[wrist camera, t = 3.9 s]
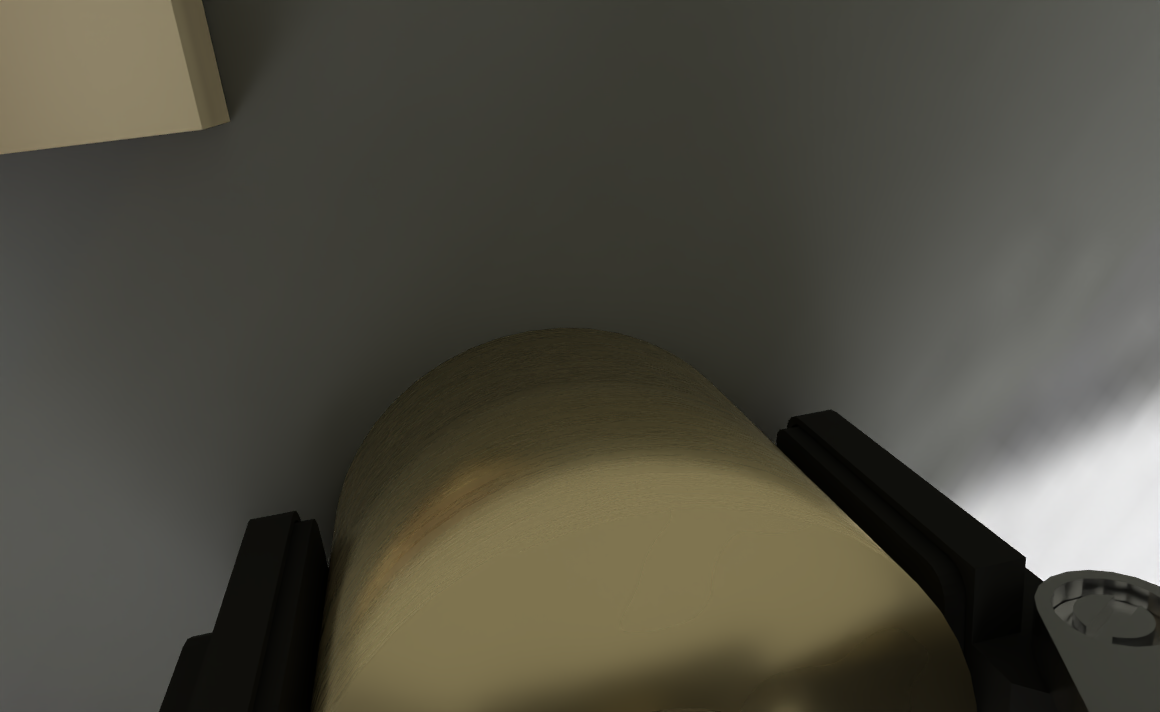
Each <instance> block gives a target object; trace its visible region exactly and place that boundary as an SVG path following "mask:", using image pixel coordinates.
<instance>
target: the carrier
mask: <svg viewBox="0 0 1160 712" xmlns="http://www.w3.org/2000/svg"><path fill="white" fill-rule="evenodd" d="M227 122H230V118H229V114H228V110H227V106H226V101H225V97H224V93H223V89H222V84H221V80H220V76H219V71H218V67H217V63H216V59H215V54H214V50H213V46H212V42H211V37H210V33H209V29H208V25H207V20H206V16H205V12H204V7H203V3H202V0H0V154H7V153H15V152H24V151H32V150H40V149H48V148H56V147H65V146H73V145H81V144H89V143H97V142H106V141H114V140H122V139H130V138H138V137H147V136H155V135H163V134H171V133H179V132H188V131H196V130H203V129H207V128H210V127H213V126H217V125H220V124H224V123H227Z"/></svg>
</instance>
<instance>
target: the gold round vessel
mask: <svg viewBox="0 0 1160 712" xmlns="http://www.w3.org/2000/svg"><path fill="white" fill-rule="evenodd" d="M310 712H977V705H976V700H975V695H974V690H973V685H972V680H971V674H970V671H969V669H968V666H967V663H966V661H965V658H964V655H963V652H962V650H961V647H960V644H959V642H958V640H957V638H956V637H955V635H954V633H953V631H952V630H951V628H950V626H949V625H948V623H947V621H946V619H945V618H944V616H943V614H942V613H941V611H940V610H939V609H938V607H937V606H936V605H935V604H934V603H933V602H932V600H931V599H930V598H929V597H928V596H927V594H926V593H925V592H924V591H923V590H922V589H921V587H920V586H919V585H918V584H917V583H916V582H915V581H914V580H913V579H912V578H911V577H910V576H909V575H908V574H907V573H906V572H905V571H904V570H903V569H902V568H901V567H900V566H899V565H898V564H897V563H896V562H895V561H894V560H893V559H891V558H890V557H889V556H888V555H887V554H886V553H885V552H884V551H883V550H882V549H881V548H880V547H879V546H878V545H877V544H876V543H875V542H874V541H873V540H872V539H871V538H870V537H869V536H868V535H867V534H866V533H865V532H864V531H863V530H862V529H861V528H860V527H859V526H858V525H857V524H856V523H855V522H854V521H852V520H851V519H850V518H849V517H848V516H847V515H846V514H845V513H844V512H843V511H842V510H841V509H840V508H839V507H838V506H837V505H836V504H835V503H834V502H833V501H832V500H831V499H830V498H829V497H828V496H827V495H826V494H825V493H824V492H823V491H822V490H821V489H820V488H819V487H818V486H817V485H816V484H815V483H814V482H812V481H811V480H810V479H809V478H808V477H807V476H806V475H805V474H804V473H803V472H802V471H801V470H800V469H799V468H798V467H797V466H796V465H795V464H794V463H793V462H792V461H791V460H790V459H789V458H788V457H787V456H786V455H785V454H784V453H783V452H782V451H781V450H780V449H779V448H778V447H777V446H776V445H775V444H773V443H772V442H771V441H770V440H769V439H768V438H767V437H766V436H765V435H764V434H763V433H762V432H761V431H760V430H759V429H758V428H757V427H756V426H755V425H754V424H753V423H752V422H751V421H750V420H749V419H748V418H747V417H746V416H745V415H744V414H743V413H742V412H741V411H740V410H739V409H738V408H737V407H736V406H735V405H733V404H732V403H731V402H730V401H729V400H728V399H727V398H726V397H725V396H724V395H723V394H722V393H721V392H720V391H719V390H718V389H717V388H716V387H715V386H714V385H713V384H712V383H711V382H710V381H708V380H707V379H706V378H705V377H704V376H703V375H701V374H700V373H699V372H698V371H697V370H696V369H694V368H693V367H692V366H691V365H689V364H687V363H686V362H684V361H683V360H681V359H679V358H678V357H676V356H675V355H673V354H672V353H670V352H668V351H666V350H663V349H661V348H659V347H657V346H655V345H652V344H650V343H648V342H646V341H643V340H640V339H636V338H633V337H629V336H626V335H622V334H619V333H614V332H607V331H601V330H594V329H581V328H555V329H545V330H536V331H528V332H524V333H519V334H515V335H511V336H507V337H502V338H498V339H496V340H493V341H490V342H488V343H485V344H482V345H480V346H477V347H474V348H472V349H469V350H467V351H465V352H463V353H461V354H459V355H458V356H456V357H454V358H452V359H450V360H448V361H446V362H444V363H442V364H441V365H439V366H438V367H436V368H435V369H434V370H432V371H431V372H429V373H428V374H426V375H425V376H423V377H422V378H421V379H419V380H418V381H416V382H415V383H414V384H413V385H412V386H411V387H410V388H409V389H407V390H406V391H405V392H404V393H403V394H402V395H401V396H400V397H399V398H397V399H396V400H395V401H394V402H393V403H392V404H391V406H390V407H389V408H388V409H387V410H386V411H385V413H384V414H383V415H382V416H381V417H380V419H379V420H378V421H377V422H376V423H375V424H374V426H373V427H372V429H371V430H370V432H369V434H368V435H367V437H366V438H365V440H364V441H363V443H362V444H361V446H360V448H359V449H358V451H357V453H356V455H355V457H354V460H353V462H352V464H351V466H350V468H349V470H348V473H347V475H346V478H345V481H344V484H343V488H342V491H341V494H340V498H339V501H338V506H337V513H336V520H335V527H334V534H333V542H332V550H331V557H330V565H329V572H328V580H327V588H326V595H325V603H324V611H323V618H322V626H321V633H320V641H319V649H318V656H317V664H316V672H315V679H314V687H313V694H312V702H311V710H310Z"/></svg>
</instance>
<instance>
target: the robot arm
mask: <svg viewBox="0 0 1160 712" xmlns="http://www.w3.org/2000/svg"><path fill="white" fill-rule="evenodd" d="M777 447H778V448H779V449H780V450H781V451H782V452H783V453H784V454H785V455H786V456H787V457H788V458H789V459H790V460H791V461H792V462H793V463H794V464H795V465H796V466H797V467H798V468H799V469H800V470H801V471H802V472H803V473H804V474H805V475H806V476H807V477H808V478H809V479H810V480H811V481H812V482H814V483H815V484H816V485H817V486H818V487H819V488H820V489H821V490H822V491H823V492H824V493H825V494H826V495H827V496H828V497H829V498H830V499H831V500H832V501H833V502H834V503H835V504H836V505H837V506H838V507H839V508H840V509H841V510H842V511H843V512H844V513H845V514H846V515H847V516H848V517H849V518H850V519H851V520H852V521H854V522H855V523H856V524H857V525H858V526H859V527H860V528H861V529H862V530H863V531H864V532H865V533H866V534H867V535H868V536H869V537H870V538H871V539H872V540H873V541H874V542H875V543H876V544H877V545H878V546H879V547H880V548H881V549H882V550H883V551H884V552H885V553H886V554H887V555H888V556H889V557H890V558H891V559H893V560H894V561H895V562H896V563H897V564H898V565H899V566H900V567H901V568H902V569H903V570H904V571H905V572H906V573H907V574H908V575H909V576H910V577H911V578H912V579H913V580H914V581H915V582H916V583H917V584H918V585H919V586H920V587H921V589H922V590H923V591H924V592H925V593H926V594H927V596H928V597H929V598H930V599H931V600H932V602H933V603H934V604H935V605H936V606H937V607H938V609H939V610H940V611H941V613H942V614H943V616H944V618H945V619H946V621H947V623H948V625H949V626H950V628H951V630H952V631H953V633H954V635H955V637H956V638H957V640H958V642H959V644H960V647H961V650H962V652H963V655H964V658H965V661H966V663H967V666H968V669H969V671H970V674H971V680H972V685H973V690H974V695H975V700H976V705H977V712H1160V586H1157V585H1154V584H1152V583H1149V582H1147V581H1144V580H1141V579H1139V578H1136V577H1132V576H1127V575H1123V574H1119V573H1114V572H1106V571H1094V570H1082V571H1070V572H1065V573H1061V574H1058V575H1055V576H1052V577H1050V578H1048V579H1047V580H1045V581H1044V582H1043V581H1042V580H1041V579H1040V578H1038V577H1037V576H1036V575H1035V574H1033V573H1032V572H1031V571H1029V570H1028V569H1027V568H1026V567H1025V564H1026V557H1024V556H1023V555H1022V554H1021V553H1019V552H1018V551H1017V550H1015V549H1014V548H1013V547H1011V546H1010V545H1009V544H1008V543H1006V542H1005V541H1004V540H1002V539H1001V538H1000V537H998V536H997V535H996V534H994V533H993V532H992V531H991V530H989V529H988V528H987V527H985V526H984V525H983V524H981V523H980V522H979V521H978V520H976V519H975V518H974V517H972V516H971V515H970V514H968V513H967V512H966V511H964V510H963V509H962V508H961V507H959V506H958V505H957V504H955V503H954V502H953V501H951V500H950V499H949V498H948V497H946V496H945V495H944V494H942V493H941V492H940V491H938V490H937V489H936V488H934V487H933V486H932V485H931V484H929V483H928V482H927V481H925V480H924V479H923V478H921V477H920V476H919V475H918V474H916V473H915V472H914V471H912V470H911V469H910V468H908V467H907V466H906V465H904V464H903V463H902V462H901V461H899V460H898V459H897V458H895V457H894V456H893V455H891V454H890V453H889V452H888V451H886V450H885V449H884V448H882V447H881V446H880V445H878V444H877V443H876V442H874V441H873V440H872V439H871V438H869V437H868V436H867V435H865V434H864V433H863V432H861V431H860V430H859V429H858V428H856V427H855V426H854V425H852V424H851V423H850V422H848V421H847V420H846V419H844V418H843V417H842V416H841V415H839V414H838V413H837V412H835V411H833V410H826V411H821V412H816V413H810V414H805V415H800V416H795V417H791V418H790V420H789V422H788V425H787V429H782V430H779V432H778V434H777ZM328 572H329V569H328V565H327V561H326V556H325V552H324V548H323V544H322V540H321V535H320V531H319V528H318V524H317V522H316V520H315V519H312V520H306V521H301V519H300V517H299V514H298V513H297V512H296V511H293V512H288V513H282V514H277V515H272V516H266V517H261V518H256V519H251V520H250V521H249V522H248V525H247V528H246V531H245V534H244V537H243V540H242V543H241V546H240V549H239V553H238V556H237V559H236V562H235V565H234V568H233V571H232V574H231V577H230V580H229V583H228V587H227V590H226V593H225V596H224V599H223V602H222V605H221V608H220V611H219V614H218V617H217V620H216V624H215V627H214V630H213V632H212V633H207V634H203V635H198V636H193V637H191V638H189V639H187V641H186V643H185V644H184V646H183V648H182V651H181V654H180V656H179V659H178V662H177V665H176V667H175V670H174V673H173V676H172V678H171V681H170V684H169V686H168V689H167V692H166V695H165V697H164V700H163V703H162V705H161V708H160V711H159V712H310V710H311V702H312V694H313V687H314V679H315V672H316V664H317V656H318V649H319V641H320V633H321V626H322V618H323V611H324V603H325V595H326V588H327V580H328Z"/></svg>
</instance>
